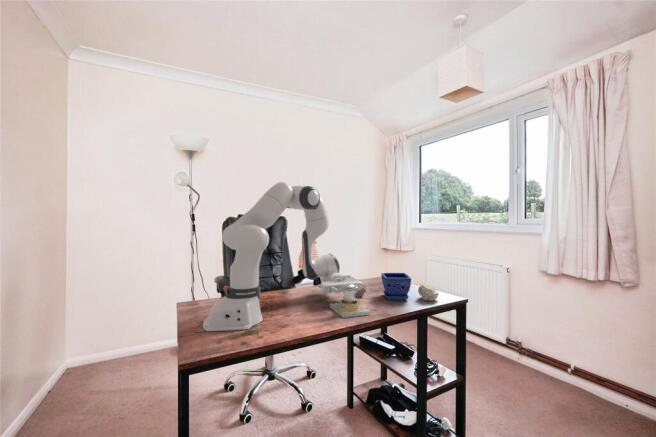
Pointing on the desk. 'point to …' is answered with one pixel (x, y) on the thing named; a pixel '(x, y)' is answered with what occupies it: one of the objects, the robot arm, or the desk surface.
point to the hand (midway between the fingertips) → (347, 290)
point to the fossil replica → (427, 292)
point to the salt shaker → (349, 293)
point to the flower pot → (396, 285)
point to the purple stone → (361, 291)
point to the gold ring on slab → (349, 309)
